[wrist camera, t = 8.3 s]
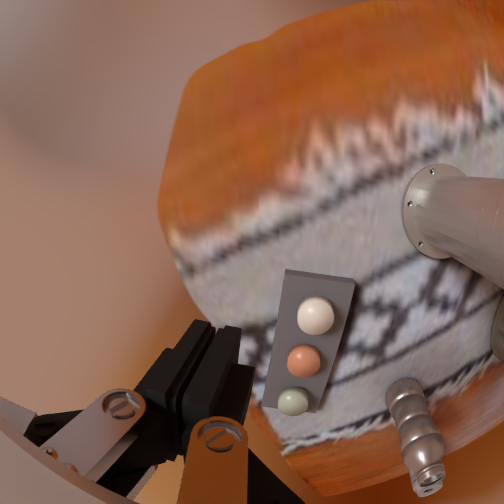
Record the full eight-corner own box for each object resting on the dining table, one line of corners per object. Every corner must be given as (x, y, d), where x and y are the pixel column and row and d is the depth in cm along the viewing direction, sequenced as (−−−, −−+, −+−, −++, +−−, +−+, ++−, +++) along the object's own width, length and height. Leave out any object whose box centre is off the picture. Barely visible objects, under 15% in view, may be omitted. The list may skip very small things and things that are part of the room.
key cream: (335, 298, 34) (337, 304, 32) (328, 328, 35) (329, 336, 33) (300, 293, 34) (300, 299, 32) (294, 324, 35) (294, 332, 33)
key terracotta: (322, 345, 36) (323, 353, 34) (315, 370, 38) (315, 379, 36) (290, 341, 37) (290, 349, 35) (285, 366, 38) (284, 375, 36)
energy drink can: (418, 443, 42) (433, 495, 28) (396, 445, 43) (408, 500, 28) (432, 426, 40) (452, 479, 26) (409, 427, 41) (426, 484, 27)
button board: (352, 278, 36) (355, 284, 34) (315, 404, 42) (315, 412, 40) (285, 268, 37) (284, 273, 35) (262, 398, 43) (261, 406, 41)
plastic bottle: (394, 370, 38) (429, 468, 19) (425, 376, 38) (465, 463, 19) (375, 398, 40) (397, 494, 21) (406, 402, 40) (434, 490, 20)
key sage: (310, 389, 38) (311, 397, 36) (304, 408, 39) (304, 417, 37) (281, 385, 38) (280, 394, 36) (276, 405, 39) (275, 413, 37)
